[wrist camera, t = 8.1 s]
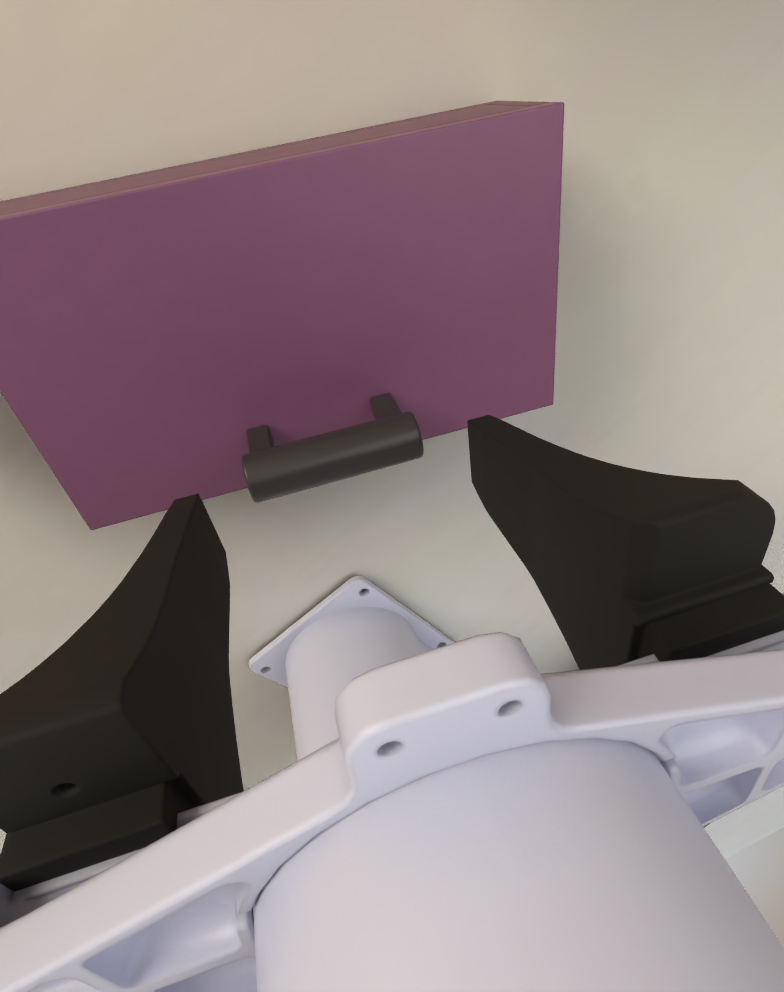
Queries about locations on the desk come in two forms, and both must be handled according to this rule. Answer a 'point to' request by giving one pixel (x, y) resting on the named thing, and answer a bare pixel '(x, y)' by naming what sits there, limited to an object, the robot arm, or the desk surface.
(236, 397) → the lid
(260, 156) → the box
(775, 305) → the desk surface
